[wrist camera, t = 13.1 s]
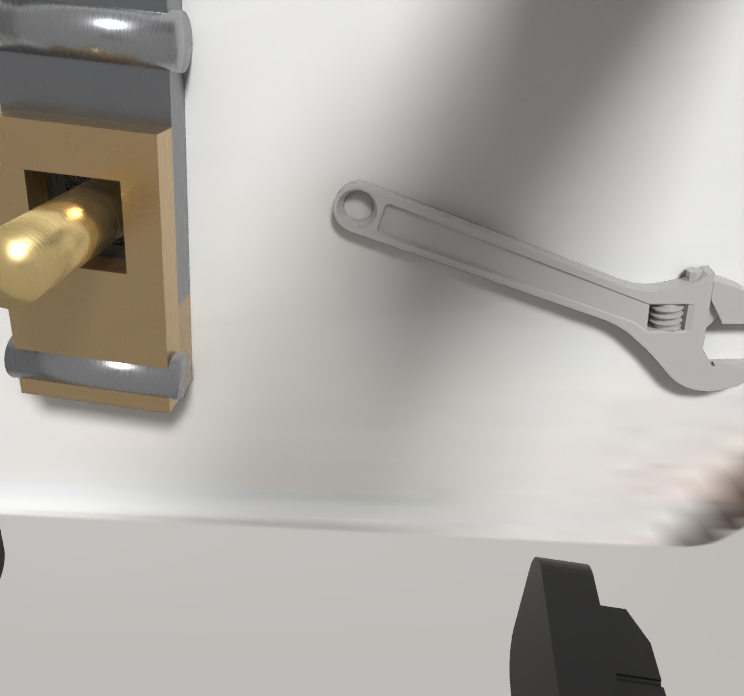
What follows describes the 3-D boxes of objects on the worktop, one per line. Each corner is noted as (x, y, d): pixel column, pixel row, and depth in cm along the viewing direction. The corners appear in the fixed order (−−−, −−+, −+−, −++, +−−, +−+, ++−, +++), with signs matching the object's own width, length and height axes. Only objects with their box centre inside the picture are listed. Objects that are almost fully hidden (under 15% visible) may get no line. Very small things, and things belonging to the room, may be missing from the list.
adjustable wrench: (329, 215, 40) (323, 224, 38) (374, 106, 37) (370, 112, 35) (716, 390, 42) (726, 406, 40) (788, 301, 39) (801, 314, 37)
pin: (80, 170, 40) (-43, 230, 30) (140, 177, 39) (34, 239, 30) (86, 228, 41) (-30, 303, 31) (143, 236, 41) (45, 313, 31)
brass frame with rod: (-5, -25, 35) (-62, -27, 31) (191, -4, 35) (157, -3, 31) (48, 359, 46) (9, 394, 42) (199, 380, 45) (175, 418, 41)
